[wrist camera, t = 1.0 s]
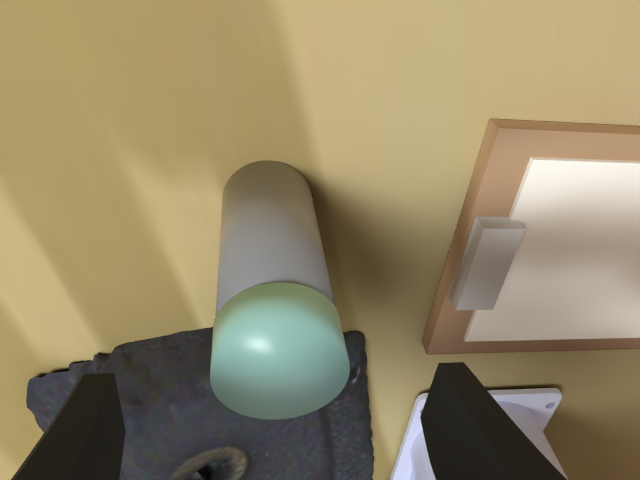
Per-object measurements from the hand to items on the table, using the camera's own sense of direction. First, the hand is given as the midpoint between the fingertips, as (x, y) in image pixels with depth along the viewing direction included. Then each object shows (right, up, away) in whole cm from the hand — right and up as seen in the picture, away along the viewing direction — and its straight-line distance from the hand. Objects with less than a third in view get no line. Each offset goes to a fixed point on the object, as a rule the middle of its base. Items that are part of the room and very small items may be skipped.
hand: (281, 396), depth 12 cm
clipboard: (+14, +3, +10) cm, 17 cm away
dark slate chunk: (-4, -9, +17) cm, 20 cm away
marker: (-1, +5, +7) cm, 9 cm away
